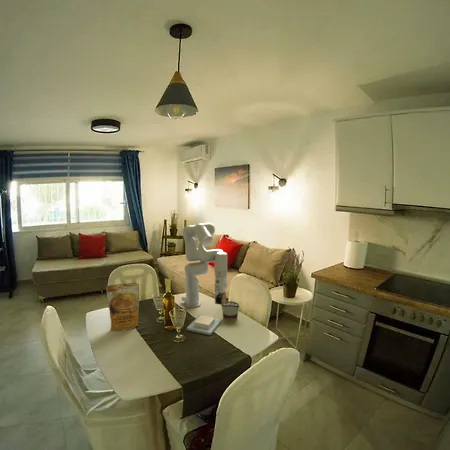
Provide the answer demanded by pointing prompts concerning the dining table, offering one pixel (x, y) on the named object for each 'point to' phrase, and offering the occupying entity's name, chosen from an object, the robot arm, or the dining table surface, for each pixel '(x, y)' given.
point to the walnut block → (223, 298)
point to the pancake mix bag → (123, 305)
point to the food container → (230, 310)
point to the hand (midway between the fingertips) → (220, 301)
